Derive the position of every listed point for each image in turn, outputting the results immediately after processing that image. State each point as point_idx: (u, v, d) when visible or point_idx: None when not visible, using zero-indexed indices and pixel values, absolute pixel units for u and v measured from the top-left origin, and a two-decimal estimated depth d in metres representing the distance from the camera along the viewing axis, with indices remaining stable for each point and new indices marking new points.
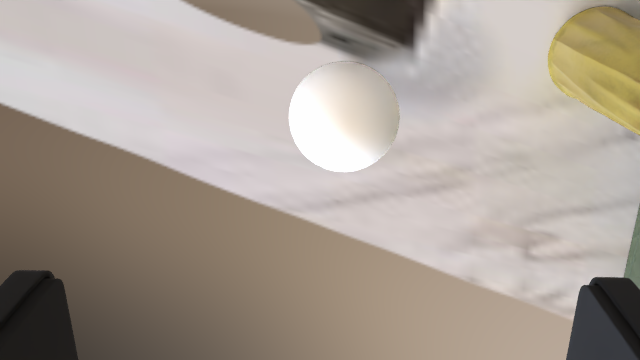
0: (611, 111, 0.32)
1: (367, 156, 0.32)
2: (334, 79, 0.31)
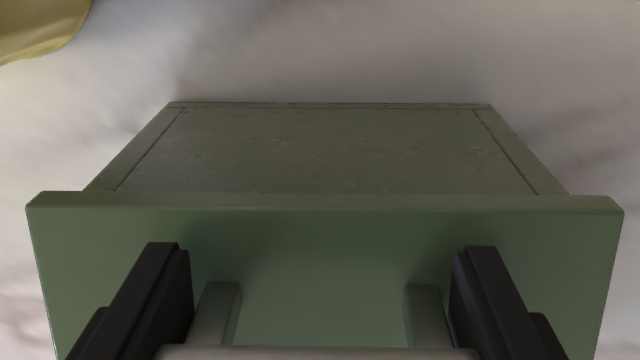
0: None
1: None
2: None
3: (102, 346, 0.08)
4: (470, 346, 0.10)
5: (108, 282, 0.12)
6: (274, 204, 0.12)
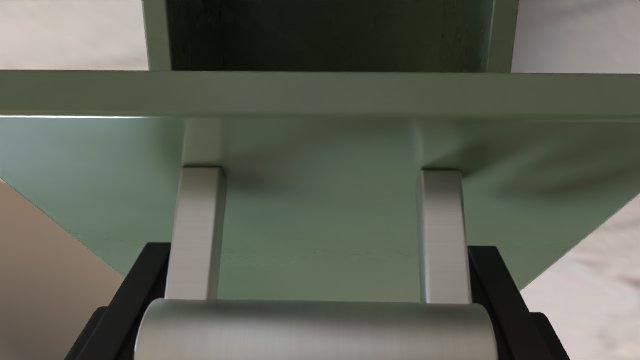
0: None
1: None
2: None
3: (101, 346, 0.08)
4: None
5: (63, 165, 0.10)
6: (254, 106, 0.09)
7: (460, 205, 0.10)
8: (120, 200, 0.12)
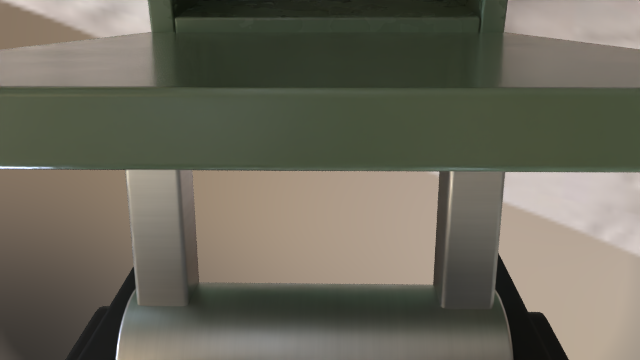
0: None
1: None
2: None
3: (102, 346, 0.08)
4: None
5: None
6: (210, 157, 0.06)
7: (499, 190, 0.07)
8: None
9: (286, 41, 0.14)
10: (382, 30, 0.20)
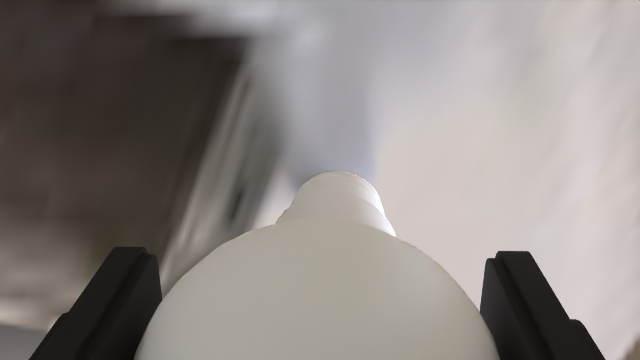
0: None
1: None
2: None
3: (56, 355, 0.08)
4: (507, 355, 0.10)
5: None
6: None
7: None
8: None
9: None
10: None
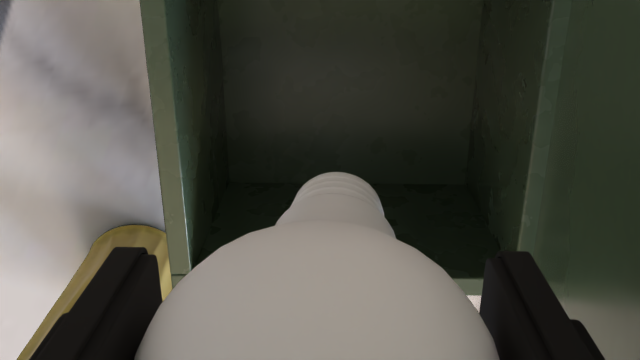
0: None
1: None
2: None
3: (56, 355, 0.08)
4: (507, 355, 0.10)
5: None
6: None
7: None
8: None
9: (598, 271, 0.15)
10: (551, 98, 0.20)
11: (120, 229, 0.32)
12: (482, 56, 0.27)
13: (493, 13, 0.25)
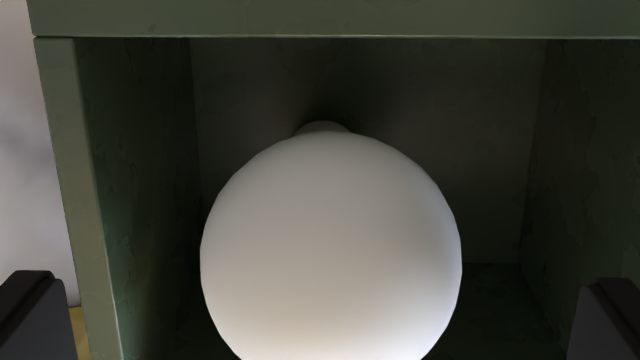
0: None
1: (410, 265, 0.12)
2: (217, 321, 0.13)
3: None
4: None
5: None
6: None
7: None
8: None
9: None
10: None
11: None
12: (548, 101, 0.20)
13: (570, 46, 0.18)
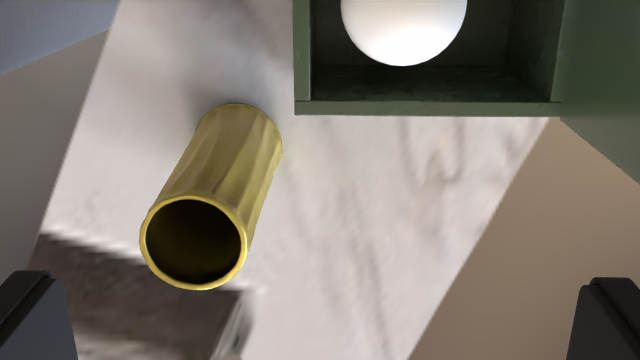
0: None
1: None
2: (352, 18, 0.28)
3: None
4: None
5: None
6: None
7: None
8: None
9: (636, 38, 0.22)
10: None
11: (224, 106, 0.40)
12: None
13: None
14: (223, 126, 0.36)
